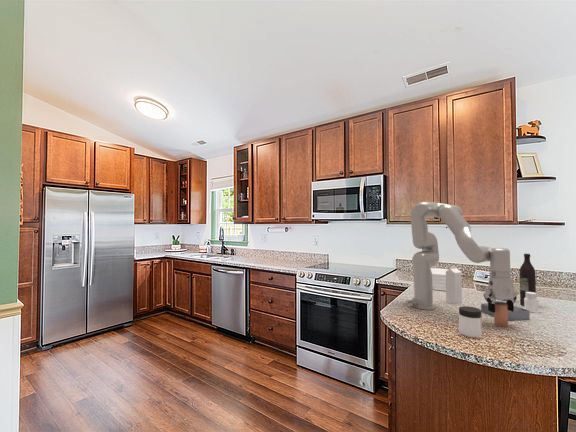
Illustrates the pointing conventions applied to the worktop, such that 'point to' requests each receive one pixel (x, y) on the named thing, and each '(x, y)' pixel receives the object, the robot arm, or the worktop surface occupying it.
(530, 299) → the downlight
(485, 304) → the bore housing
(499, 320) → the orange grey-topped cylinder
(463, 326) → the jar
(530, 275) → the wine bottle
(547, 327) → the worktop surface
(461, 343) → the worktop surface
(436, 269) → the plate stack
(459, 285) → the milk
